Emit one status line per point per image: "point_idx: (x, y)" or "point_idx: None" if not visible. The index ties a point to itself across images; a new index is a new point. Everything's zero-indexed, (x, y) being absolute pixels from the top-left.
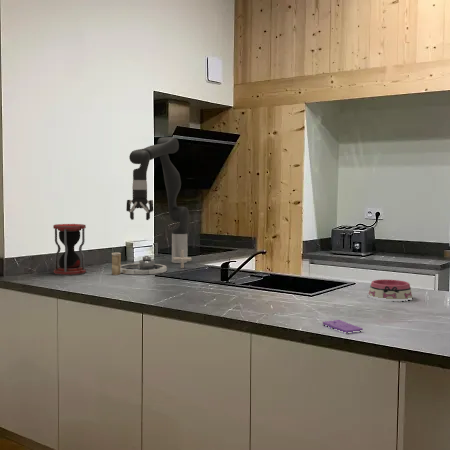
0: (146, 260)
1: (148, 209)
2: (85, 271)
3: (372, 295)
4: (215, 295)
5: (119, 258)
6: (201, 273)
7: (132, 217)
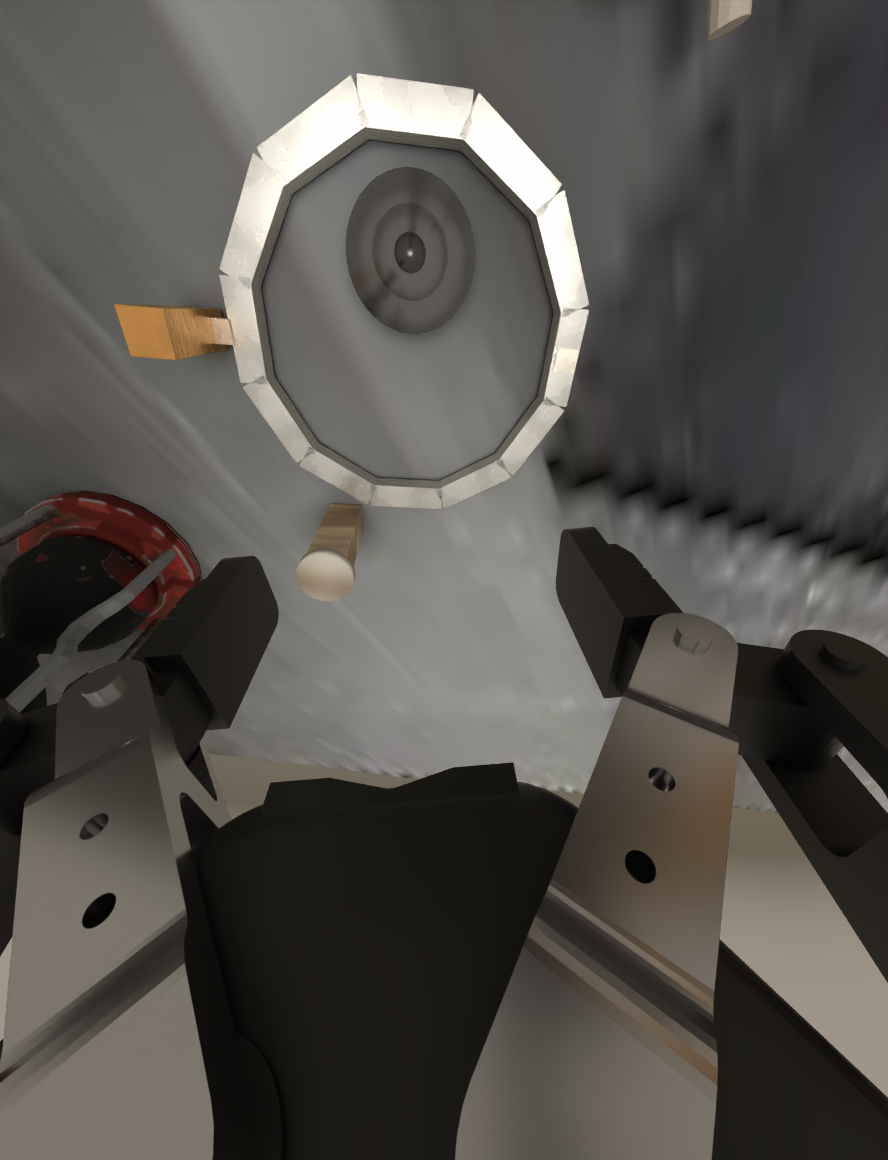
0: (425, 298)
1: (710, 712)
2: (176, 537)
3: None
4: None
5: (349, 552)
6: (830, 264)
7: (261, 630)
